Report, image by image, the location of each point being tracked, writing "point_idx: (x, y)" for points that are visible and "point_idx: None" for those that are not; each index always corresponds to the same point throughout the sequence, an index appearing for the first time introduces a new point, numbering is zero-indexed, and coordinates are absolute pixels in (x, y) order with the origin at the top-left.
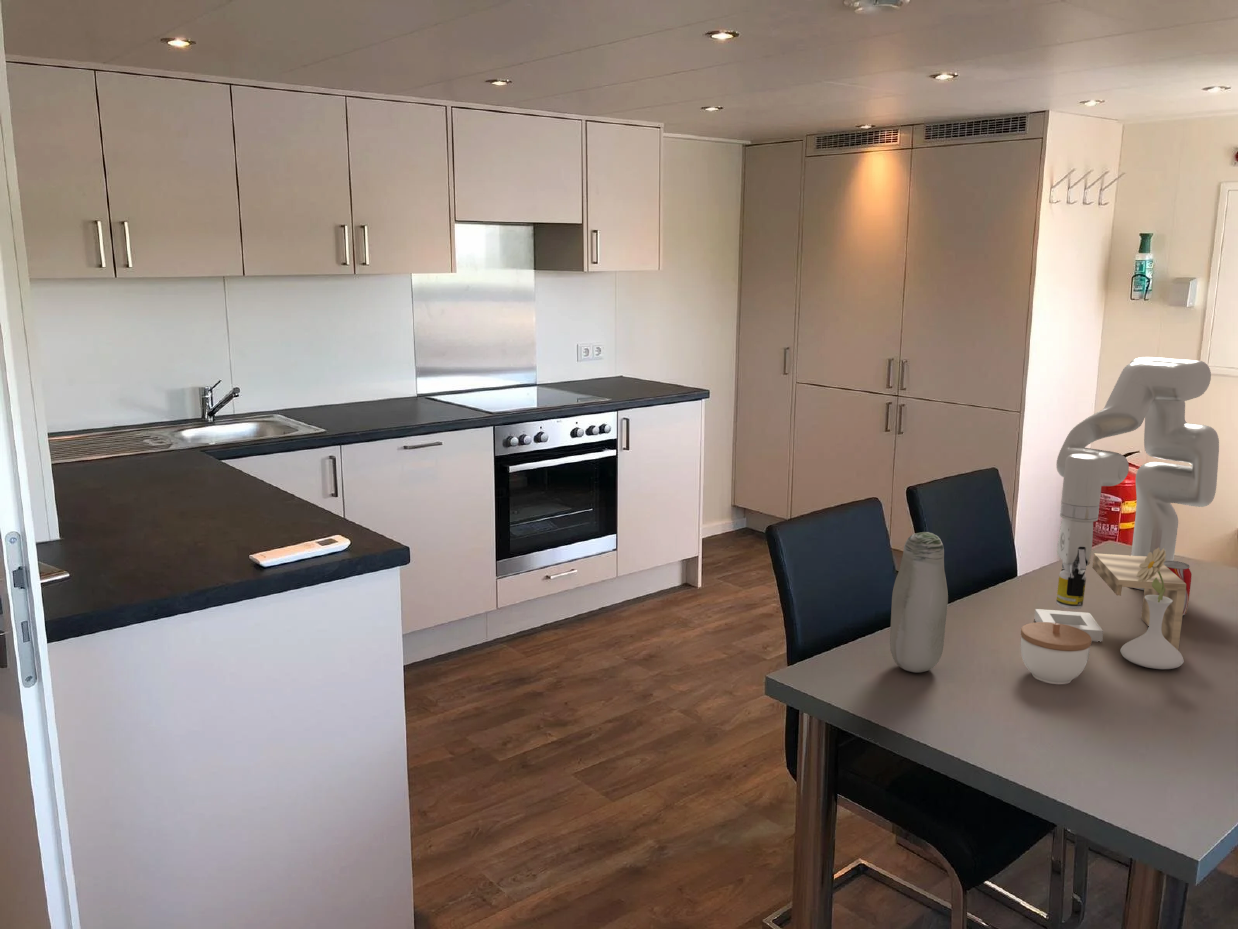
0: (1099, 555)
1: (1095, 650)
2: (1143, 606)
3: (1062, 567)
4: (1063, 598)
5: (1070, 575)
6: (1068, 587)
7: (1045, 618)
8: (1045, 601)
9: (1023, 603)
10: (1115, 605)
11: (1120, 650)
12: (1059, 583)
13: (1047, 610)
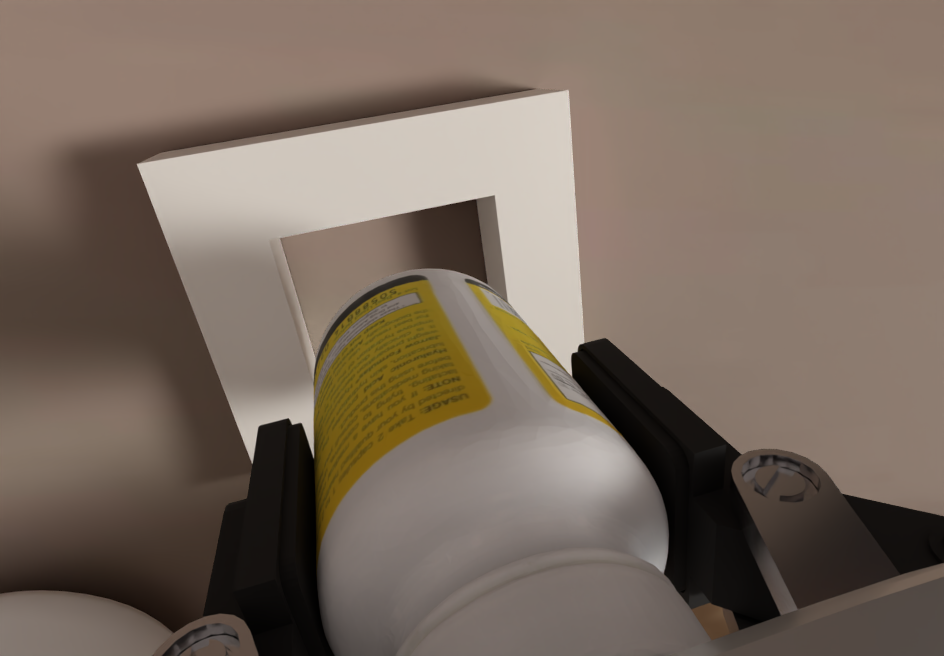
0: None
1: (91, 449)
2: (718, 624)
3: (766, 457)
4: (330, 357)
5: (241, 647)
6: (253, 487)
7: (359, 163)
8: (876, 171)
9: (836, 28)
10: (838, 476)
11: (2, 600)
12: (417, 373)
13: (558, 182)
